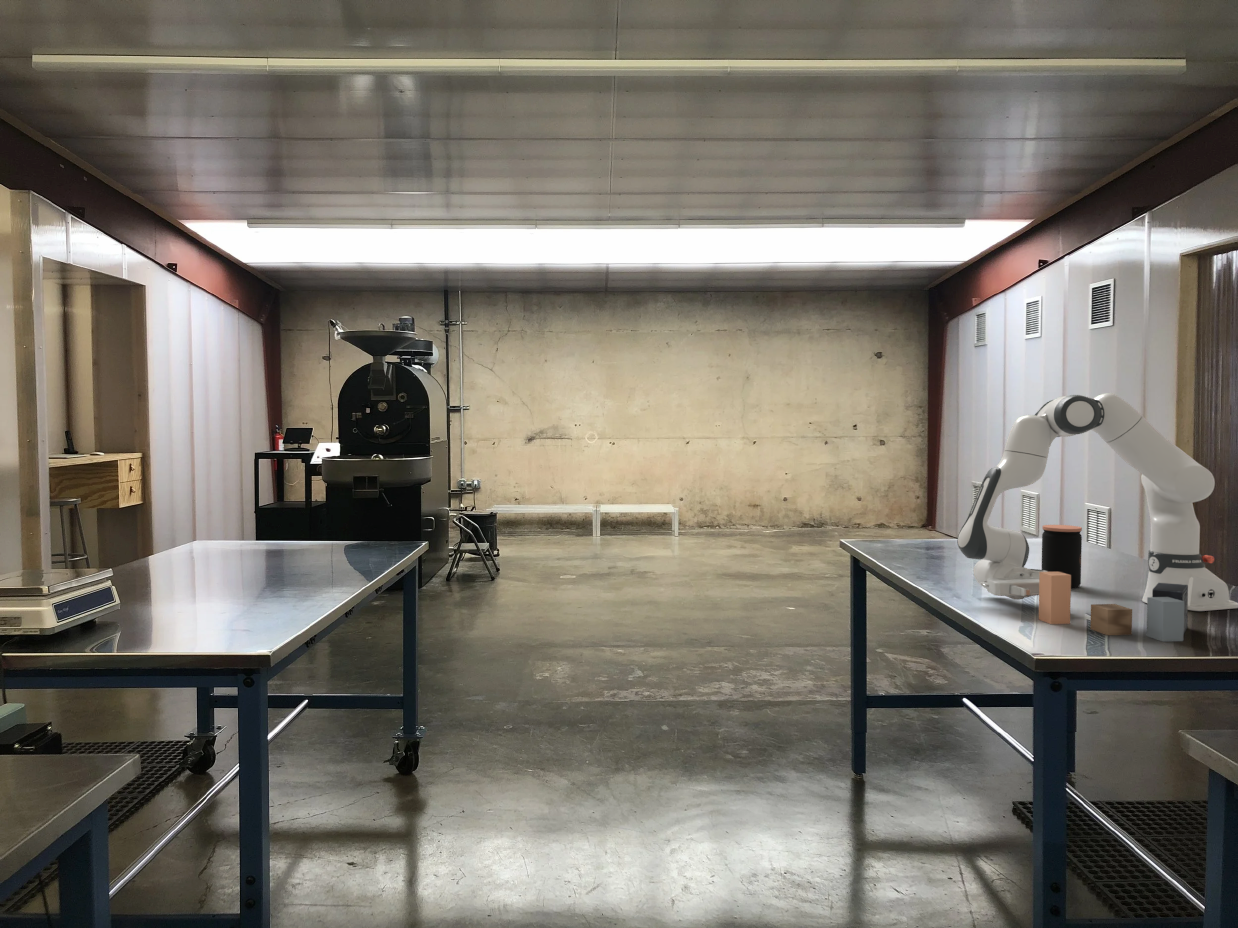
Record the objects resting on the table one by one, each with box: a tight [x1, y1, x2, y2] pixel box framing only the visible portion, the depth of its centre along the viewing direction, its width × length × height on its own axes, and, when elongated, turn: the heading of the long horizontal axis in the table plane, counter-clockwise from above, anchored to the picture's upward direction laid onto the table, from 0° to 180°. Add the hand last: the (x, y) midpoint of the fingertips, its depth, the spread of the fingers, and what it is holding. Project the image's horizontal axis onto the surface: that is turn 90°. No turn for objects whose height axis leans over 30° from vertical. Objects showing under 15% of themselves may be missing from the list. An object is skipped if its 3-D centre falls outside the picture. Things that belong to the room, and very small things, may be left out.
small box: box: [1152, 583, 1189, 634], centre depth 197 cm, size 11×6×10 cm, turn 141°
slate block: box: [1146, 597, 1185, 643], centre depth 189 cm, size 5×5×9 cm
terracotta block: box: [1038, 572, 1072, 625], centre depth 206 cm, size 5×5×12 cm
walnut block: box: [1090, 603, 1133, 636], centre depth 195 cm, size 6×6×6 cm
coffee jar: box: [1041, 524, 1083, 590], centre depth 252 cm, size 11×11×18 cm
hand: (1045, 592), depth 210 cm, fingers open, 8 cm apart
